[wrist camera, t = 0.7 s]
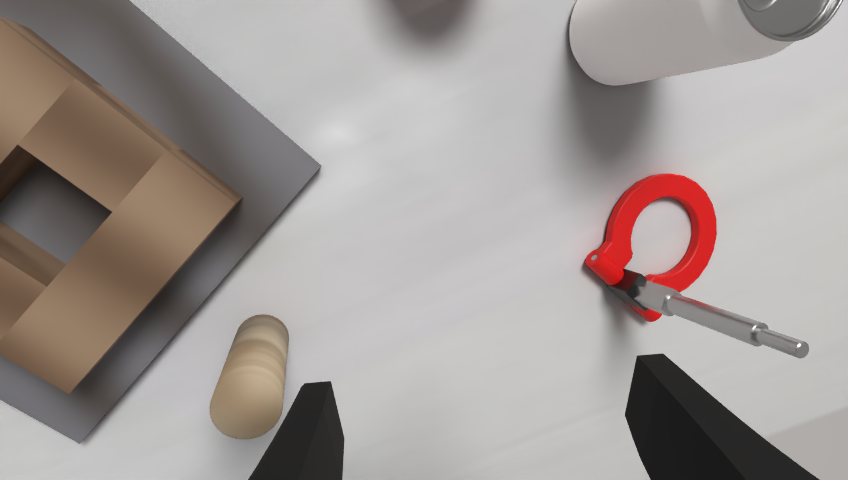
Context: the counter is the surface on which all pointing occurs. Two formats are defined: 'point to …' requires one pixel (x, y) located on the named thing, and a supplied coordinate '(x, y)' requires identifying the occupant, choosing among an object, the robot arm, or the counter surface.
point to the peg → (252, 379)
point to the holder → (116, 199)
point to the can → (685, 34)
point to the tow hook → (663, 289)
